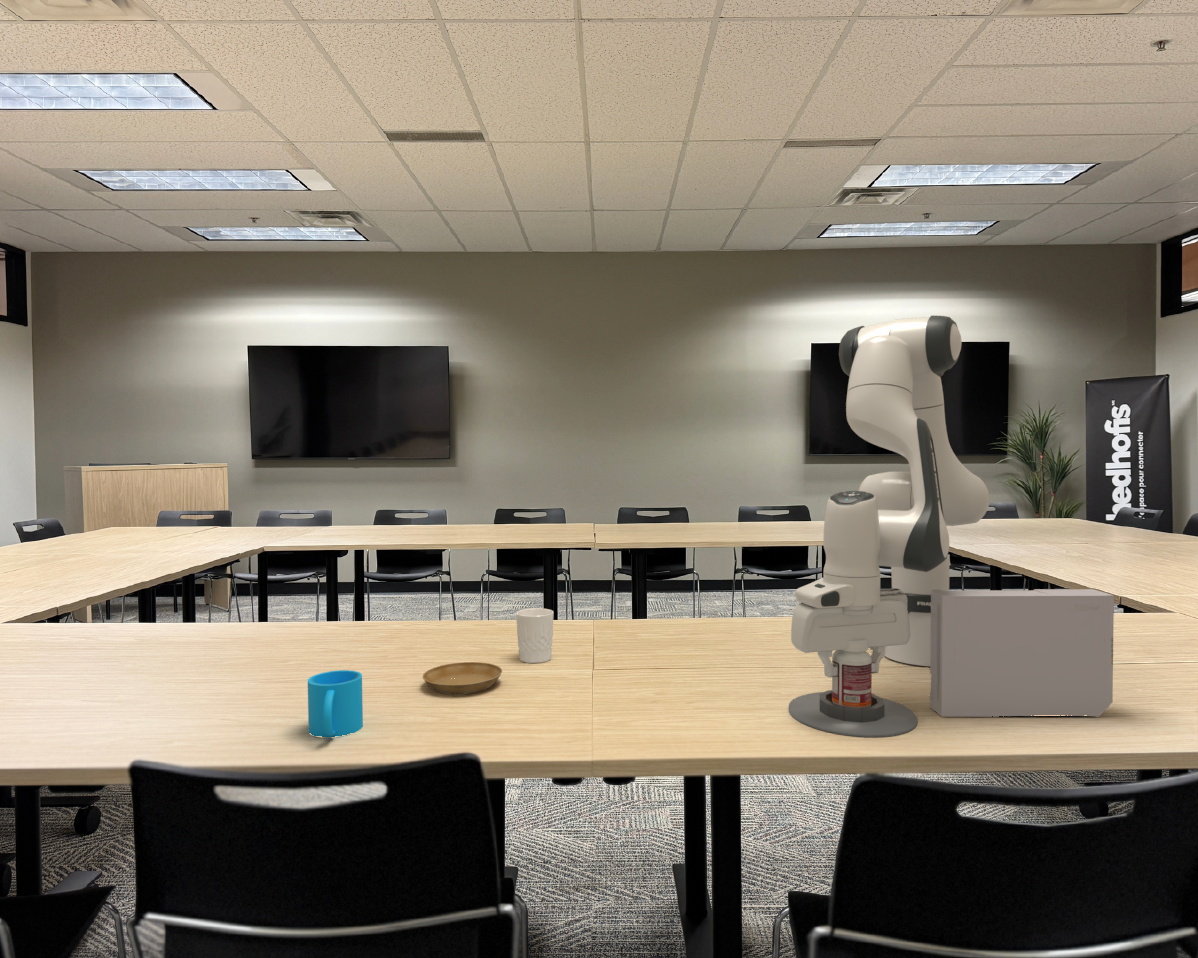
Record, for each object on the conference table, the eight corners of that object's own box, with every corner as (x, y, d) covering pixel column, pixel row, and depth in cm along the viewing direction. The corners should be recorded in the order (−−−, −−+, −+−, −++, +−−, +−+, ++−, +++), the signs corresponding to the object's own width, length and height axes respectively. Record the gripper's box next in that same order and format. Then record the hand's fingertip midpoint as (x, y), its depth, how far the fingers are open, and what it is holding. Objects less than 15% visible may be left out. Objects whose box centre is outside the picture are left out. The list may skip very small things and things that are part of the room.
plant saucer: (406, 694, 134) (406, 680, 134) (448, 671, 148) (448, 659, 148) (479, 702, 129) (479, 687, 129) (515, 678, 143) (515, 664, 143)
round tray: (868, 690, 133) (868, 676, 133) (945, 729, 114) (945, 713, 114) (767, 700, 128) (767, 685, 128) (830, 743, 109) (830, 726, 109)
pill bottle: (879, 707, 120) (880, 638, 120) (854, 714, 117) (855, 643, 116) (848, 696, 125) (848, 630, 125) (823, 703, 122) (824, 635, 122)
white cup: (509, 662, 154) (509, 614, 153) (527, 652, 161) (526, 607, 161) (543, 665, 151) (543, 617, 150) (560, 655, 158) (559, 609, 158)
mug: (314, 721, 120) (313, 671, 120) (366, 717, 122) (365, 668, 121) (298, 750, 108) (296, 695, 108) (355, 745, 110) (354, 691, 110)
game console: (926, 705, 125) (926, 589, 125) (1089, 705, 124) (1090, 588, 124) (940, 717, 119) (941, 595, 119) (1112, 718, 118) (1113, 595, 118)
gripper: (894, 584, 126) (894, 664, 127) (786, 590, 121) (786, 673, 122) (919, 590, 120) (918, 674, 120) (806, 598, 115) (806, 685, 116)
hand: (851, 674), depth 121 cm, fingers closed on pill bottle, 6 cm apart
